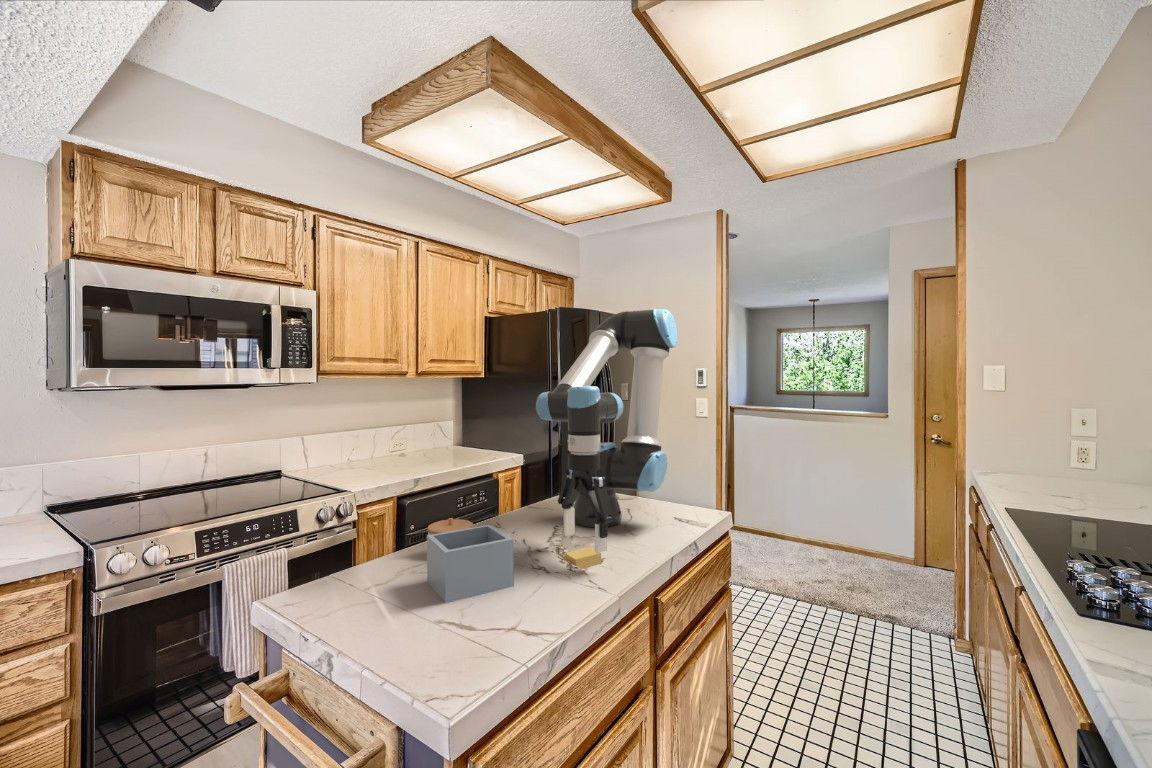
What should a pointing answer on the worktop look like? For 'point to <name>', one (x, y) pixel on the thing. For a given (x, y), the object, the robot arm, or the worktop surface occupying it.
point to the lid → (583, 557)
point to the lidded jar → (448, 526)
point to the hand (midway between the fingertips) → (584, 543)
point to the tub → (469, 562)
